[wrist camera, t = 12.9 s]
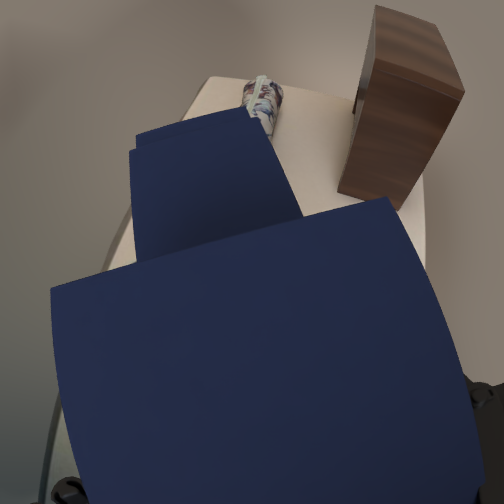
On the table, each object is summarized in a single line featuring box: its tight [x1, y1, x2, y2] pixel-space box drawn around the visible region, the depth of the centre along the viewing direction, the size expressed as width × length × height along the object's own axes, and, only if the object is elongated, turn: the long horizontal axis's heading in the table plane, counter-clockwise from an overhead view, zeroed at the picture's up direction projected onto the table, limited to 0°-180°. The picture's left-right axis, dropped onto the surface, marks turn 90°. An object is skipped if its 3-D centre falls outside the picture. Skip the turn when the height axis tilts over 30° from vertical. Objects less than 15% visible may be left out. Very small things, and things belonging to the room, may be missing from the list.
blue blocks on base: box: [50, 106, 486, 504], centre depth 12 cm, size 22×8×12 cm, turn 16°
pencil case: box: [240, 75, 283, 142], centre depth 56 cm, size 22×8×10 cm, turn 168°
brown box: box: [337, 5, 465, 211], centre depth 45 cm, size 26×12×28 cm, turn 162°
